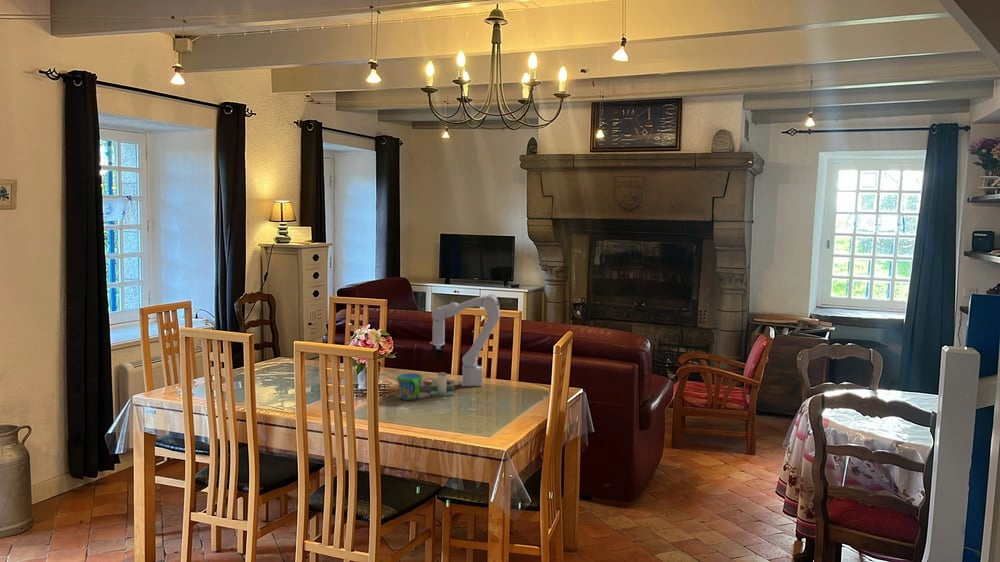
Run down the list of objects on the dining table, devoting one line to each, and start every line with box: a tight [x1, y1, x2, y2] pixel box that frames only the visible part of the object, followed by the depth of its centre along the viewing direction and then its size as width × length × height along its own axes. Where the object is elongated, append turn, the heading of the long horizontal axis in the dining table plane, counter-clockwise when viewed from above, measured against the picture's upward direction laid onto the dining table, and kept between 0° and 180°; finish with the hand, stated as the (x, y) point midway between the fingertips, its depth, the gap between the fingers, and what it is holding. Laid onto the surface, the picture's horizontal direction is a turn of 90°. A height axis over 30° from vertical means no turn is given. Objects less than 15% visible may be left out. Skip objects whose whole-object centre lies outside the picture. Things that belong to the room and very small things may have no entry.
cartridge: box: [437, 371, 448, 394], centre depth 327 cm, size 4×4×9 cm
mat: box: [430, 391, 454, 397], centre depth 328 cm, size 10×6×1 cm, turn 94°
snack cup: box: [396, 373, 423, 401], centre depth 318 cm, size 16×10×10 cm
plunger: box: [423, 379, 433, 384], centre depth 338 cm, size 4×4×3 cm
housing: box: [420, 379, 455, 393], centre depth 338 cm, size 15×12×2 cm
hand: (438, 361), depth 349 cm, fingers open, 7 cm apart
